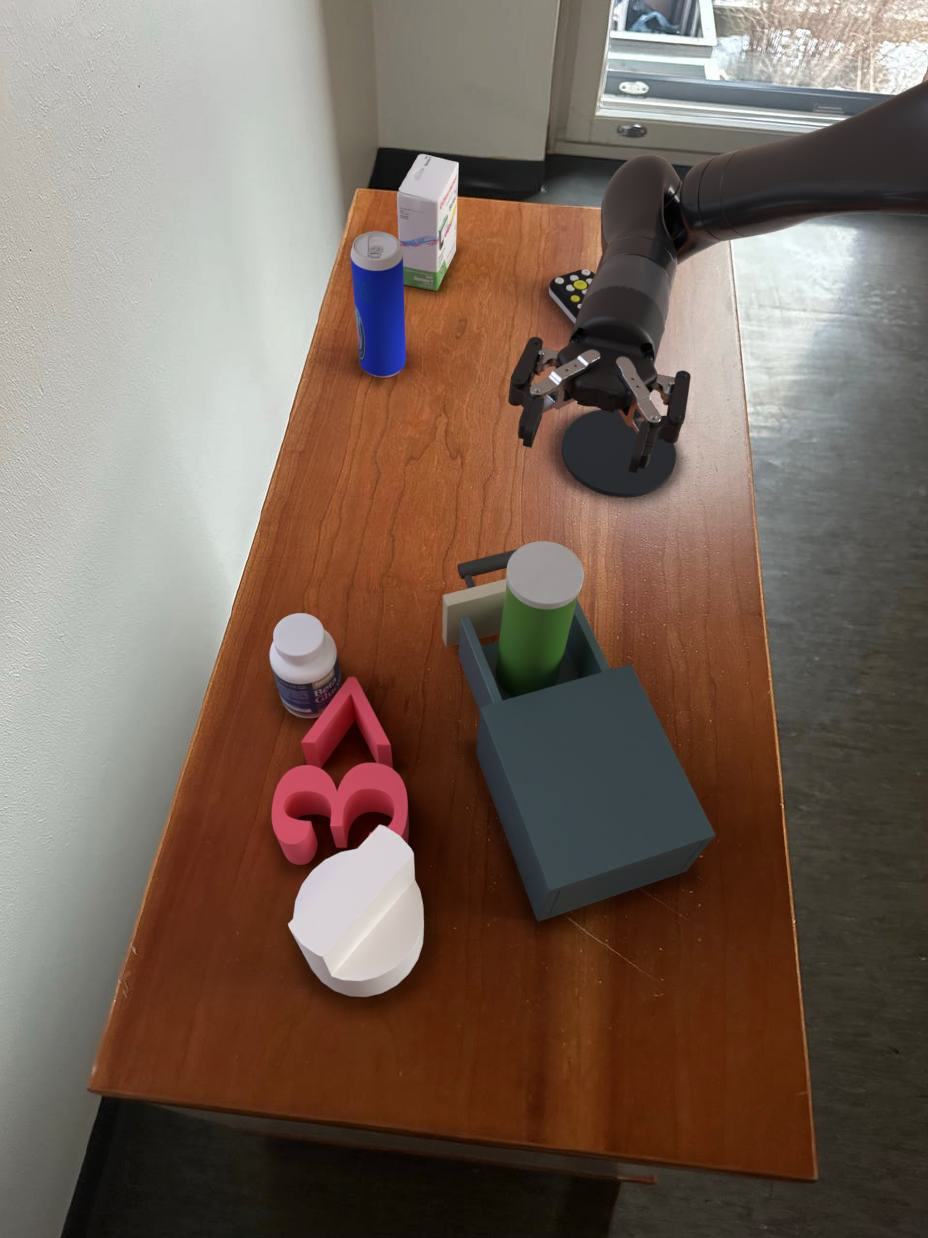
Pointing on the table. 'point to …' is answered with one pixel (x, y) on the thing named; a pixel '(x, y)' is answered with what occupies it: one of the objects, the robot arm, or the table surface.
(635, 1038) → the table surface
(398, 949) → the cylinder with rectangular tab
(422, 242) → the ink box
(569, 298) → the remote control
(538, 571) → the chip tube
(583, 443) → the mat
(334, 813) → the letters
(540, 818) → the cabinet
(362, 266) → the beverage can
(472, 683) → the drawer
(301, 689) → the pill bottle
